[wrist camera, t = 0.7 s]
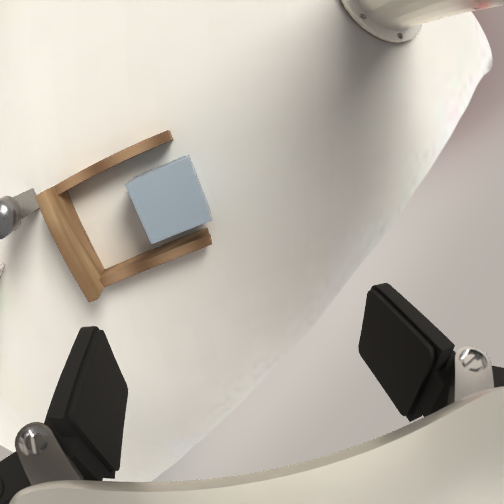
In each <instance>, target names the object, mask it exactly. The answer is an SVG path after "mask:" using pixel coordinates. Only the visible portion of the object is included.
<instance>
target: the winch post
mask: <svg viewBox="0 0 504 504" xmlns="http://www.w3.org/2000/svg"><path fill="white" fill-rule="evenodd" d="M35 196H36V194H35V191H34V189H30V190H28V191H26V192H23V193H21V194H19V195H17V196H15V197H13V198H12V197H10V196H5V197H3V198H0V239H3V238H4V237H6V236H7V235H9V234H10V233H12V232H13V231H14V230H16V229H17V228H18V227H19V225H20V223H21V219H23V218H24V217H26V216H28V215H29V214H31V213H32V212H34V211H36V210H37V209H39V206H38V203H37V201H36V199H35Z"/></svg>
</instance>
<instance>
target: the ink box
mask: <svg viewBox="0 0 504 504" xmlns="http://www.w3.org/2000/svg"><path fill="white" fill-rule="evenodd" d="M3 269H4V264H3V263H1V262H0V277H1V274H2V271H3Z"/></svg>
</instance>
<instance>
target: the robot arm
mask: <svg viewBox="0 0 504 504" xmlns="http://www.w3.org/2000/svg"><path fill="white" fill-rule="evenodd" d="M341 1H342V3H343V5H344V7H345V8H346V10H347V11H348V13H349V14H350V15H351V17H352V18H353V19H354V20H355V21H356V22H357V23H358V24H359V25H360V26H361V27H362V28H364V29H365V30H366V31H368V32H369V33H371V34H372V35H374V36H376V37H378V38H380V39H382V40H385V41H388V42H395V43H398V42H405V41H408V40H411V39H413V38H414V37H415V36H416V35H417V34H418V33H419V31H420V29H421V26H422V24H423V23H427V22H430V21H434V20H437V19H441V18H445V17H449V16H453V15H457V14H461V13H465V12H470V11H475V10H480V9H485V8H490V7H496V6H501V5H504V0H341ZM454 346H455V345H454V344H453V343H452V342H451V341H450V340H449V339H448V338H447V337H446V336H445V335H444V334H443V333H442V332H441V331H439V329H438V328H436V327H435V326H434V325H433V324H432V323H431V322H430V321H429V320H428V319H427V318H426V317H425V316H424V315H423V314H422V313H420V312H419V311H418V310H417V309H416V308H415V307H414V306H413V305H412V304H411V303H409V302H408V301H407V300H406V299H405V298H404V297H403V296H402V295H401V294H400V293H398V292H397V291H396V290H395V289H394V288H393V287H392V286H391V285H389V284H388V283H384V284H379V285H374V286H372V288H371V290H370V291H368V293H367V299H366V306H365V312H364V319H363V324H362V330H361V336H360V341H359V353H360V355H361V357H362V358H363V360H364V361H365V363H366V364H367V365H368V367H369V368H370V370H371V371H372V373H373V374H374V375H375V377H376V378H377V380H378V381H379V383H380V384H381V386H382V387H383V388H384V390H385V391H386V393H387V394H388V396H389V397H390V399H391V400H392V402H393V403H394V405H395V406H396V408H397V409H398V411H399V412H400V413H401V415H403V416H406V417H407V418H408V420H409V421H410V422H411V421H413V420H415V419H417V418H419V417H421V416H422V415H423V416H424V418H422V419H420V420H418V421H415V422H413V423H411V424H409V425H407V426H405V427H402V428H400V429H398V430H396V431H393V432H391V433H388V434H386V435H384V436H381V437H379V438H376V439H373V440H371V441H368V442H365V443H363V444H360V445H357V446H354V447H351V448H348V449H345V450H342V451H339V452H337V453H333V454H330V455H327V456H323V457H320V458H316V459H313V460H309V461H305V462H301V463H297V464H293V465H289V466H285V467H281V468H276V469H271V470H266V471H261V472H255V473H249V474H243V475H237V476H230V477H222V478H213V479H204V480H193V481H178V482H177V481H176V482H111V481H102V479H103V478H111V479H115V471H118V470H119V468H120V458H121V447H122V437H123V428H124V420H125V412H126V404H127V397H128V387H127V384H126V382H125V380H124V377H123V375H122V373H121V371H120V369H119V366H118V364H117V362H116V359H115V357H114V355H113V352H112V350H111V348H110V345H109V343H108V340H107V338H106V335H105V333H104V331H103V330H99V328H98V327H97V326H92V327H82V328H81V329H80V331H79V333H78V335H77V338H76V340H75V342H74V345H73V347H72V349H71V352H70V354H69V357H68V359H67V361H66V364H65V366H64V369H63V371H62V373H61V376H60V379H59V381H58V384H57V387H56V390H55V392H54V395H53V398H52V401H51V404H50V407H49V410H48V413H47V416H46V419H45V422H44V423H40V422H33V423H30V424H27V425H25V426H24V427H23V428H21V430H20V431H19V432H18V434H17V436H16V439H15V448H16V452H14V453H13V454H11V455H10V456H8V457H7V458H5V459H4V460H2V461H1V462H0V504H504V368H501V367H496V366H492V365H491V360H490V358H489V356H488V355H487V354H486V353H485V352H484V351H483V350H481V349H479V348H477V347H473V346H466V347H462V348H460V349H459V350H458V351H457V352H456V353H455V352H454V351H453V348H454Z"/></svg>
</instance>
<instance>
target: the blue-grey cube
mask: <svg viewBox="0 0 504 504" xmlns="http://www.w3.org/2000/svg"><path fill="white" fill-rule="evenodd" d="M125 186H126V188H127V191H128V193H129V195H130V198H131V200H132V202H133V205H134V207H135V209H136V211H137V214H138V216H139V218H140V220H141V223H142V225H143V227H144V229H145V231H146V234H147V236H148V238H149V240H150V242H151V244H154V243H156V242H159V241H161V240H163V239H166V238H168V237H171V236H173V235H176V234H178V233H181V232H183V231H186V230H188V229H191V228H193V227H196V226H199V225H201V224H204V223H206V222H209V221H211V220H212V218H211V213H210V209H209V206H208V203H207V201H206V198H205V195H204V193H203V190H202V188H201V185H200V182H199V180H198V177H197V174H196V172H195V169H194V166H193V164H192V161H191V158H190V156H189V155H186V156H183V157H181V158H178V159H176V160H173V161H171V162H169V163H166V164H164V165H161V166H159V167H157V168H154V169H152V170H150V171H147V172H145V173H143V174H140V175H138V176H136V177H134V178H133V179H132V180H130V181H129V182H128V183H126V184H125Z"/></svg>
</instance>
